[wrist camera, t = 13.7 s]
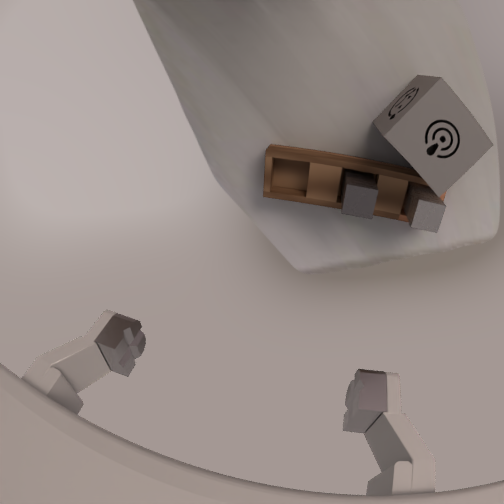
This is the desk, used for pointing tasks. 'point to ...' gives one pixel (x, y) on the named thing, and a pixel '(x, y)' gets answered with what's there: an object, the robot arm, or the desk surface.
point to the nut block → (423, 207)
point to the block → (358, 193)
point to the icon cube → (433, 131)
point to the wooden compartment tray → (333, 179)
